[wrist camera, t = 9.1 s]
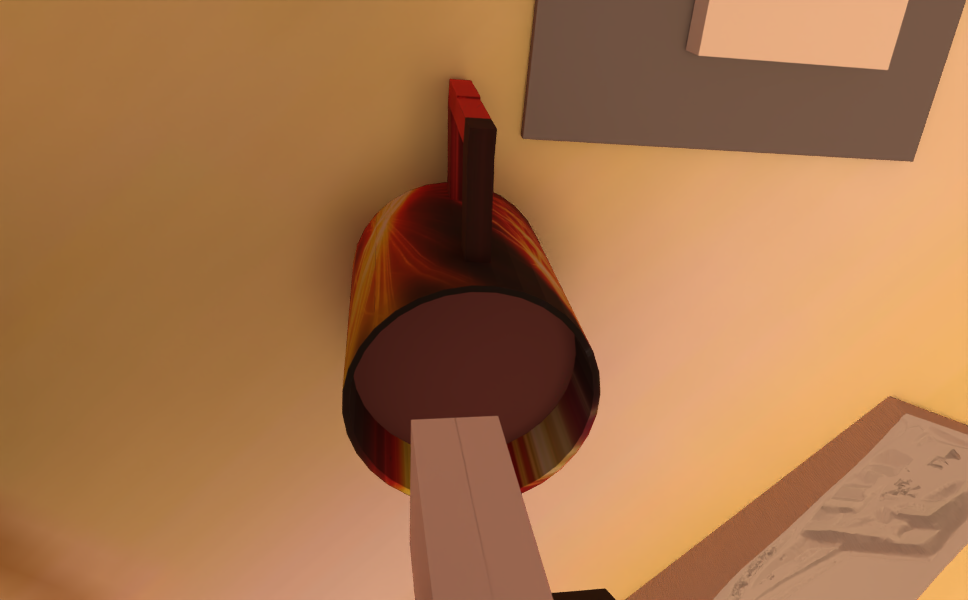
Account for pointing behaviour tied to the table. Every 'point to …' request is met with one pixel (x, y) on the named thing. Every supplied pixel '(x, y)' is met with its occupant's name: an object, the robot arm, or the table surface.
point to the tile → (798, 31)
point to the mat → (723, 85)
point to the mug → (463, 320)
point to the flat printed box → (842, 520)
